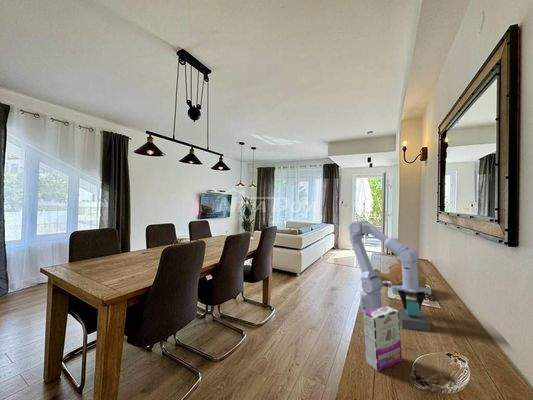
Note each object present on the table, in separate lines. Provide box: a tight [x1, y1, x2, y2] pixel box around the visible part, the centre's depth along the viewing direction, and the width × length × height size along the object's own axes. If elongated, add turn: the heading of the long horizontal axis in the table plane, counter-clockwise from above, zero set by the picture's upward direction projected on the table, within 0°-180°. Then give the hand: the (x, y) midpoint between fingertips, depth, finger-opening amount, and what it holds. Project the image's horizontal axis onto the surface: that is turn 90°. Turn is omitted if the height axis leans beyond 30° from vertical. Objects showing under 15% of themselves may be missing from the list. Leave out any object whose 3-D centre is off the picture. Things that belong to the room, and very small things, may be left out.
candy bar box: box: [362, 305, 403, 372], centre depth 75 cm, size 11×5×16 cm, turn 114°
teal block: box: [404, 298, 421, 316], centre depth 99 cm, size 4×4×5 cm
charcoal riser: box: [396, 309, 431, 332], centre depth 99 cm, size 10×10×4 cm
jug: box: [373, 260, 427, 296], centre depth 139 cm, size 20×19×30 cm
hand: (411, 309), depth 99 cm, fingers closed on teal block, 4 cm apart
